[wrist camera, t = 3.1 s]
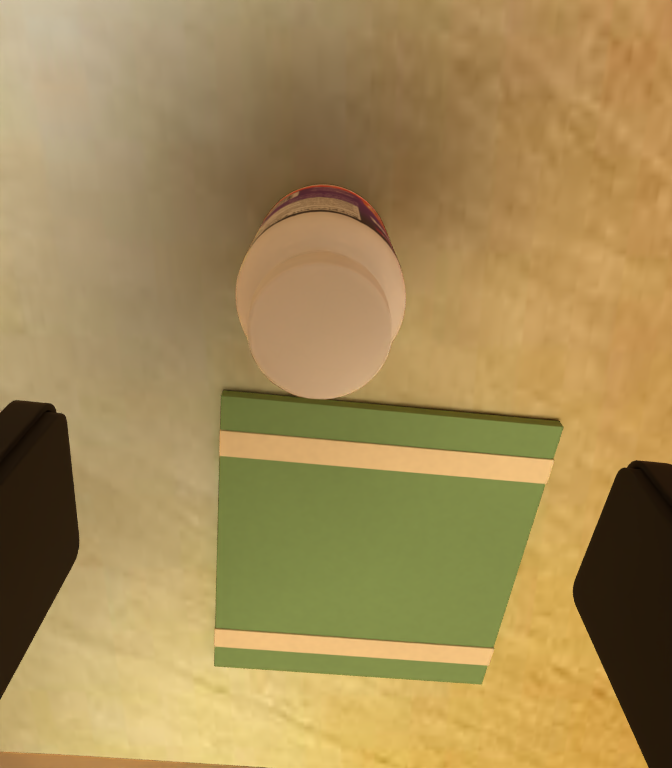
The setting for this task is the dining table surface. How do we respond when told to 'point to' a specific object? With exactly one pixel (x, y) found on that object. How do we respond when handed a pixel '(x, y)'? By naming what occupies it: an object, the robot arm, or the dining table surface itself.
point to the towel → (370, 534)
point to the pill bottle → (321, 293)
